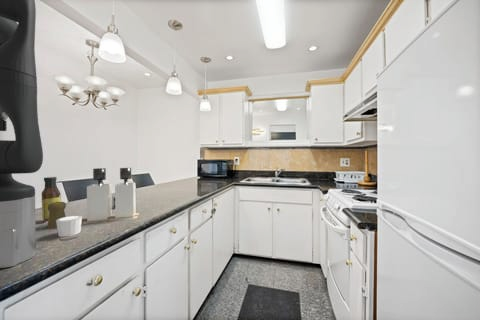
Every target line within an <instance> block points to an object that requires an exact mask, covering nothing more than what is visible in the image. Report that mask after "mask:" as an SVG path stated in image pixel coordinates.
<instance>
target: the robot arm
mask: <svg viewBox="0 0 480 320" xmlns="http://www.w3.org/2000/svg"><path fill="white" fill-rule="evenodd" d="M36 8H37V7H36V2H35V0H0V132H7V130H8V129H7V119H9V120H10V122H11V125H12V126H13V131H14V137H15V139H14V140H3V139H2V140H1V139H0V269H3V268H4V269H5V268H11V267H15V266H17V265H18V264H21V263H22V262H26V261H28V260H30V259H33V257H35V256H36V255H37V240H36V239H37V238H36V237H37V235H36V234H37V233H36V231H37V229H36V228H37V227H36V225H37V224H36V189H35V187H34V186H33V185H31V184H26V183H23V182H20V181H17V180H16V179H14V177H13V175H14V174H15V175H16V174H18V175H19V174H34V173H36V172H38V171H40V169H41V168H42V165H43V163H44V162H43V161H44V152H43V143H42V138H41V137H42V136H41V132H40V131H41V130H40V126H39V118H38V115H39V114H38V82H37V81H38V79H37V77H38V76H37V68H36V67H37V66H36V54H35V50H36V49H35V47H36V45H35V43H36V41H35V37H36V19H37V18H36V15H37V13H36V10H37V9H36ZM12 174H13V175H12Z"/></svg>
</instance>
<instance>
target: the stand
mask: <svg viewBox="0 0 480 320" xmlns="http://www.w3.org/2000/svg"><path fill="white" fill-rule="evenodd" d="M139 214H140V211H136V214H135V216H134V217H133V218H124V219H115V214H111V217H110V218H109V219H108V220H105V221H96V222H87V219H85V221H83V222H81V225H86V224H94V223H103V222H104V223H105V222H106V223H107V222H114V221H115V222H116V221H123V220H125V221H126V220H132V219H138V217H139Z"/></svg>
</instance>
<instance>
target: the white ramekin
mask: <svg viewBox="0 0 480 320" xmlns="http://www.w3.org/2000/svg"><path fill="white" fill-rule="evenodd" d="M82 221H83V216H82V215H68V216H65V217H63V218H60V219H57V220H56V223H57V228H56V229H57V235H58V237H59V238H60V239H58V240H59V242H64V241H65V242H66V241H72V240H75V239H77V238H79V236H75V237H72V236H74V235H78V234H79V233H81V230H82V229H81V228H82V223H83V222H82ZM70 236H71V237H70ZM61 237H63V238H61ZM64 237H66V238H64ZM67 237H68V238H67Z"/></svg>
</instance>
